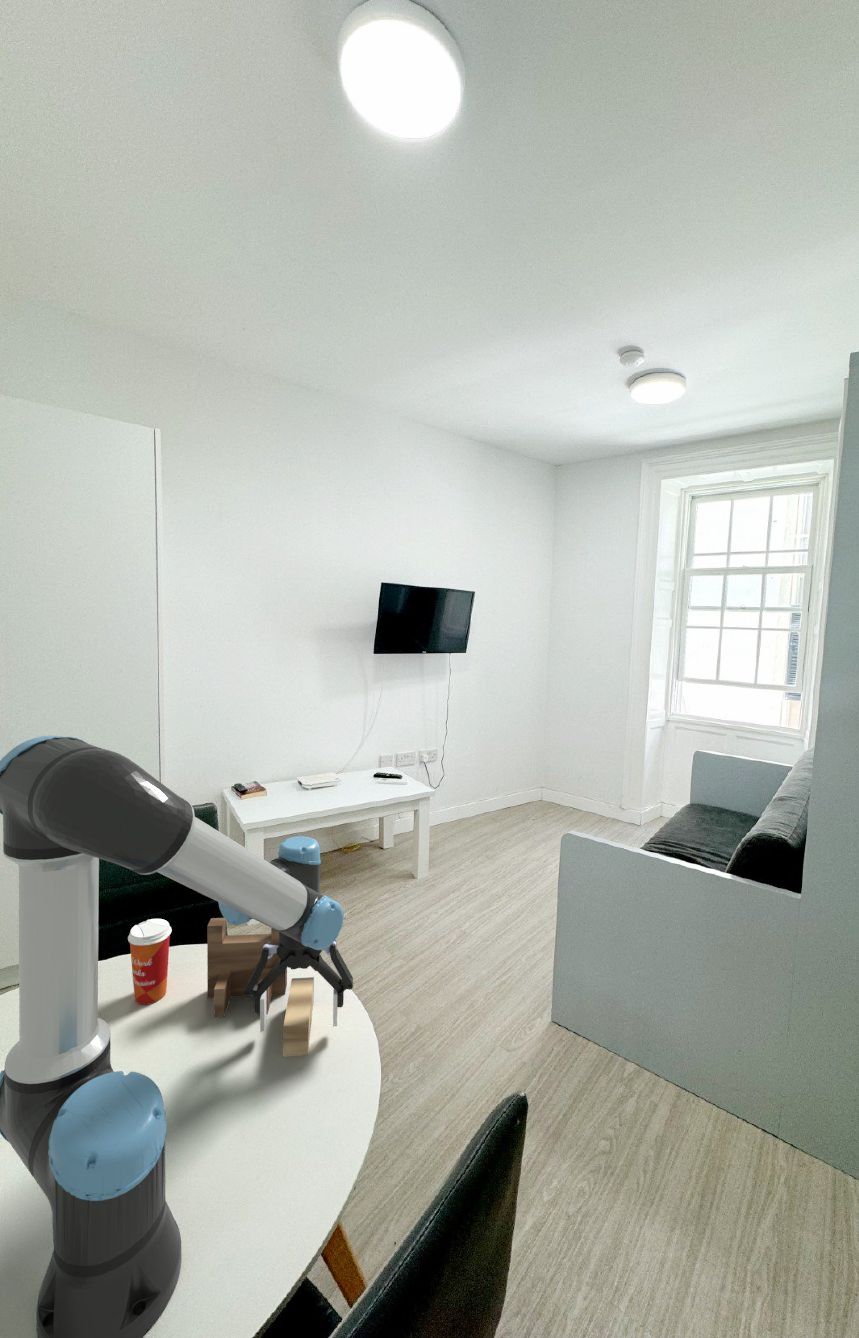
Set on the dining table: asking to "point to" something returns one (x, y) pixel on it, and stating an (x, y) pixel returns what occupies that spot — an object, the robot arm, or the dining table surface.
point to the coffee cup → (150, 959)
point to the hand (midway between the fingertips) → (299, 1023)
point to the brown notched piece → (237, 964)
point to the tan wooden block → (298, 1017)
